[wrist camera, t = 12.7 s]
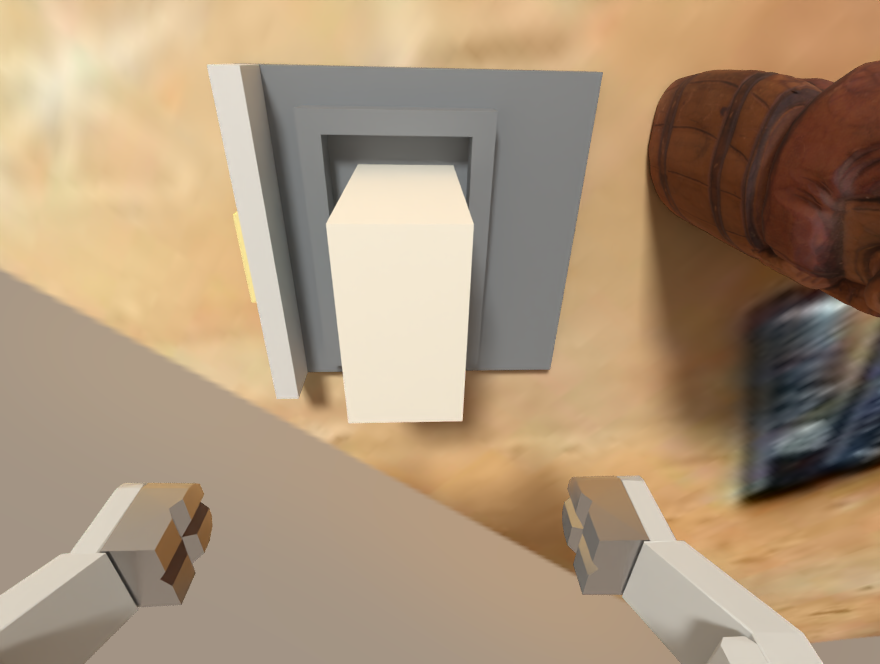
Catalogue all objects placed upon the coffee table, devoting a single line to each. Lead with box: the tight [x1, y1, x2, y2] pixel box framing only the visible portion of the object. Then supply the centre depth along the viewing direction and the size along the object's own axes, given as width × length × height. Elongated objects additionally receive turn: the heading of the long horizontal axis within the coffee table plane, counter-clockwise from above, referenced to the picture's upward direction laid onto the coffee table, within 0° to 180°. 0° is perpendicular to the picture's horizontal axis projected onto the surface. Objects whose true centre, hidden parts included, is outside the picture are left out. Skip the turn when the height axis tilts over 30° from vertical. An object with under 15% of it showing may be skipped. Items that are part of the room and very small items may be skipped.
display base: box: [207, 64, 603, 399], centre depth 23 cm, size 16×16×4 cm
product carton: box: [326, 164, 474, 423], centre depth 20 cm, size 5×8×9 cm, turn 179°
